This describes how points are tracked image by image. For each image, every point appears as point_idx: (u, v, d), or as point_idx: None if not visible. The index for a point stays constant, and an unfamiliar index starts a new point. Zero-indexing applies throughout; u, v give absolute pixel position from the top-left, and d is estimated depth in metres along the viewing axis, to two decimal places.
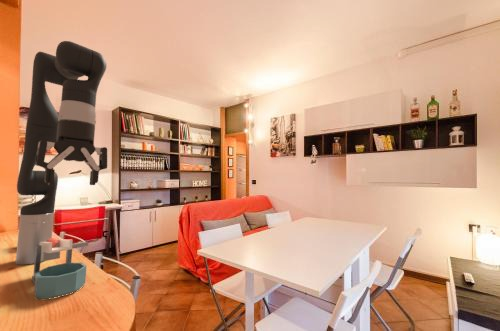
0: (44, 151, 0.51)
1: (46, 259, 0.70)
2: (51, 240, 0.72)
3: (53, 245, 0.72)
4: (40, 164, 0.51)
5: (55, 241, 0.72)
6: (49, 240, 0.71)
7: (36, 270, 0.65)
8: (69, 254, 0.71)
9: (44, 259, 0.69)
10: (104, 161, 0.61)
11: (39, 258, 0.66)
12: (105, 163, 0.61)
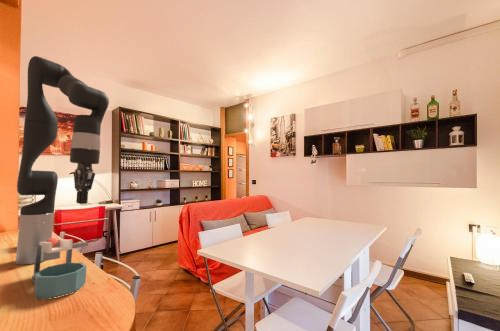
0: None
1: (46, 259, 0.70)
2: (51, 240, 0.72)
3: (53, 245, 0.72)
4: None
5: (55, 241, 0.72)
6: (49, 240, 0.71)
7: (36, 270, 0.65)
8: (69, 254, 0.71)
9: (44, 259, 0.69)
10: None
11: (39, 258, 0.66)
12: None
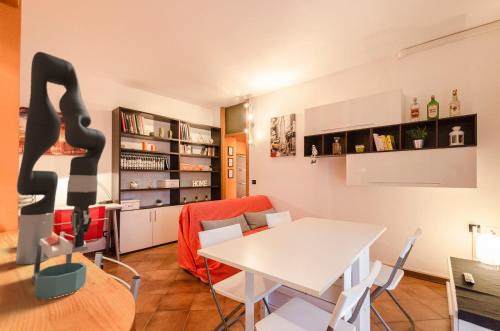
0: None
1: (46, 257, 0.70)
2: (51, 238, 0.71)
3: (53, 243, 0.72)
4: None
5: (55, 240, 0.72)
6: (49, 238, 0.71)
7: (36, 270, 0.65)
8: (69, 254, 0.71)
9: (44, 257, 0.70)
10: None
11: (39, 258, 0.66)
12: None
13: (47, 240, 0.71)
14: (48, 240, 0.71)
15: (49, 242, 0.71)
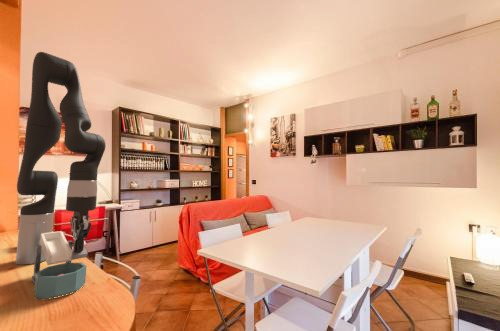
0: None
1: None
2: None
3: None
4: None
5: None
6: None
7: (36, 270, 0.65)
8: None
9: (44, 253, 0.70)
10: None
11: (39, 258, 0.66)
12: None
13: None
14: None
15: None
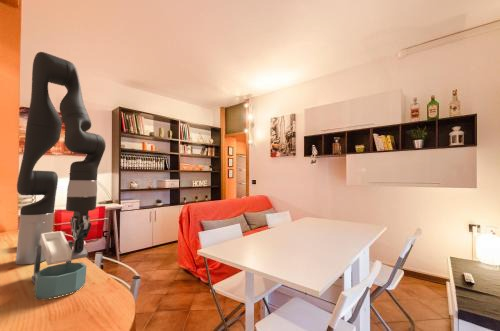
0: None
1: None
2: None
3: None
4: None
5: None
6: None
7: (36, 270, 0.65)
8: None
9: (44, 253, 0.70)
10: None
11: (39, 258, 0.66)
12: None
13: None
14: None
15: None
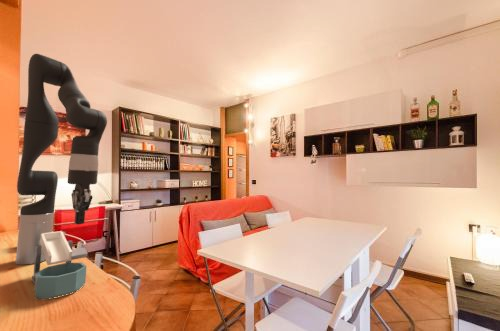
0: None
1: None
2: None
3: None
4: None
5: None
6: None
7: (36, 270, 0.65)
8: None
9: (44, 253, 0.70)
10: None
11: (39, 258, 0.66)
12: None
13: None
14: None
15: None
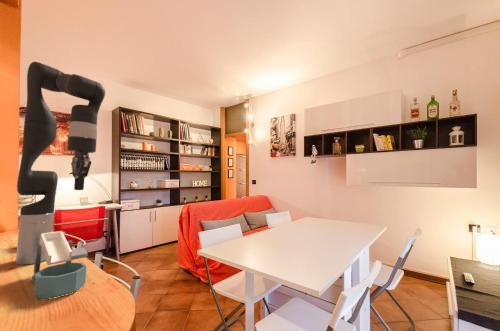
0: None
1: None
2: None
3: None
4: None
5: None
6: None
7: (36, 270, 0.65)
8: None
9: (44, 253, 0.70)
10: None
11: (39, 258, 0.66)
12: None
13: None
14: None
15: None
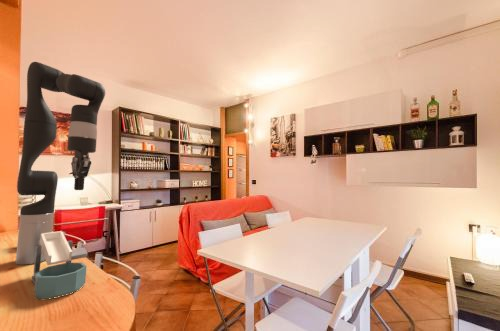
0: None
1: None
2: None
3: None
4: None
5: None
6: None
7: (36, 270, 0.65)
8: None
9: (44, 253, 0.70)
10: None
11: (39, 258, 0.66)
12: None
13: None
14: None
15: None
